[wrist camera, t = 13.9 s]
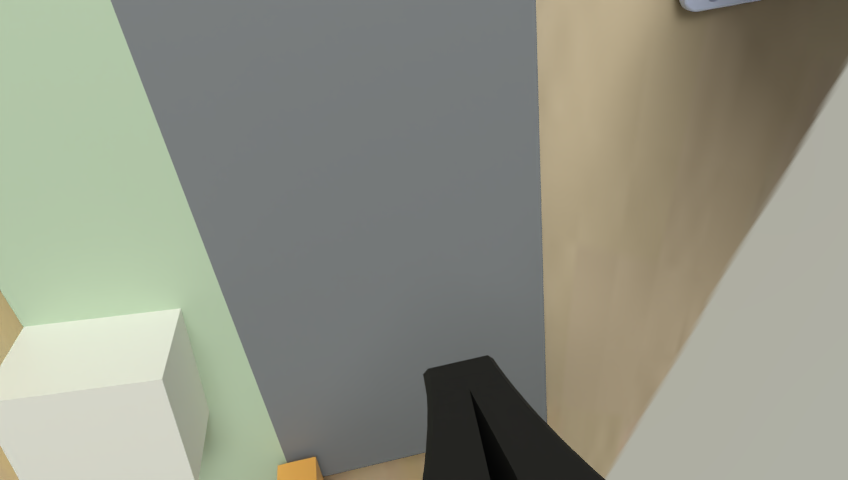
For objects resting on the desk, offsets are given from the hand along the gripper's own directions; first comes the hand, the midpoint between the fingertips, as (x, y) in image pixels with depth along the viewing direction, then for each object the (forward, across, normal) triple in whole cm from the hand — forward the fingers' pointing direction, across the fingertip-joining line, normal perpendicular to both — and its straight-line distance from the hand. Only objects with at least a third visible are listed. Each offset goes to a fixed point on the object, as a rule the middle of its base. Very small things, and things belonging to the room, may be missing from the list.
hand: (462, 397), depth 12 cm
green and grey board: (+10, +4, +2) cm, 11 cm away
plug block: (+9, +11, +5) cm, 15 cm away
